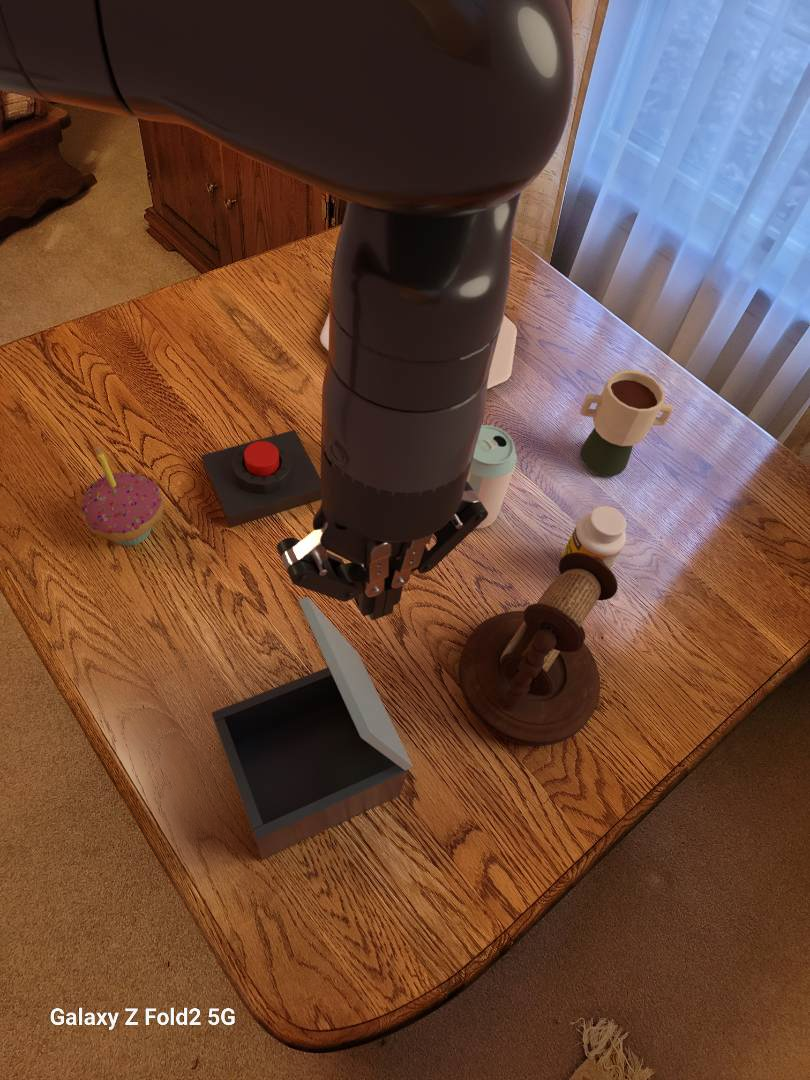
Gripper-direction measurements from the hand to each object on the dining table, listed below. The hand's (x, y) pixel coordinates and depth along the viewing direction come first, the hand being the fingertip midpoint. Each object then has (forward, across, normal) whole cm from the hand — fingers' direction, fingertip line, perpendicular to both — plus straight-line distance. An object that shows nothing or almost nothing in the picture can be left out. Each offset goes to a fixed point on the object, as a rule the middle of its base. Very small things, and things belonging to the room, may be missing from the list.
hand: (375, 606), depth 50 cm
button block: (+29, -3, -35) cm, 45 cm away
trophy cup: (+29, -46, -23) cm, 58 cm away
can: (+29, -25, -22) cm, 44 cm away
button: (+25, -3, -35) cm, 43 cm away
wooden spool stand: (+29, -19, +1) cm, 35 cm away
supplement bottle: (+29, -33, -9) cm, 45 cm away
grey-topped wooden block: (+14, +1, 0) cm, 14 cm away
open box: (+29, +5, 0) cm, 29 cm away
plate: (+29, -33, -52) cm, 68 cm away
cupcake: (+29, +13, -34) cm, 46 cm away
